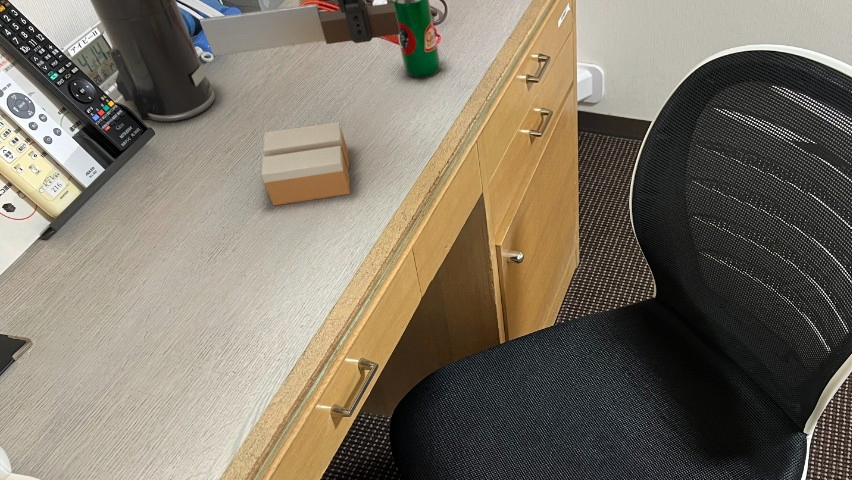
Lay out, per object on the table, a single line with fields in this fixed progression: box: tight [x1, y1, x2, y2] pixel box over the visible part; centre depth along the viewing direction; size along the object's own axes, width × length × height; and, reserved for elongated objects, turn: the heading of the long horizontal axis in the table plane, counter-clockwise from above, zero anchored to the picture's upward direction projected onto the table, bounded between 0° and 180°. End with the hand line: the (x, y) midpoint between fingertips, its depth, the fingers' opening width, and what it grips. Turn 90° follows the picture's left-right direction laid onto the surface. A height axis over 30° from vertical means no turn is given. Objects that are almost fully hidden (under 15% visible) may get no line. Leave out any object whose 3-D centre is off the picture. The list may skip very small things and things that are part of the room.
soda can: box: [389, 0, 441, 79], centre depth 114 cm, size 5×5×12 cm
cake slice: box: [260, 146, 351, 207], centre depth 98 cm, size 9×4×4 cm, turn 103°
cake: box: [262, 121, 350, 171], centre depth 101 cm, size 9×4×4 cm, turn 103°
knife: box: [199, 2, 400, 57], centre depth 89 cm, size 20×2×4 cm, turn 104°
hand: (362, 34), depth 91 cm, fingers closed on knife, 2 cm apart
